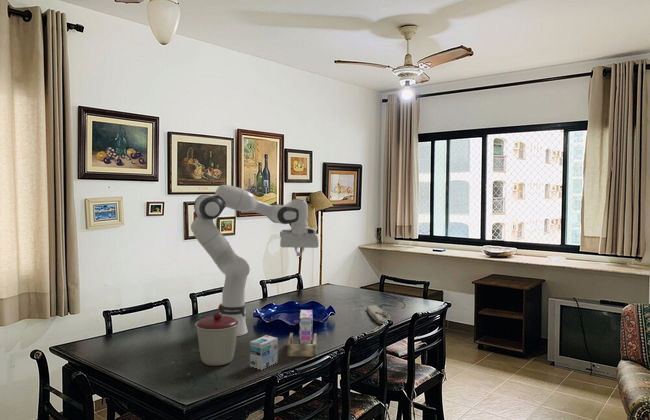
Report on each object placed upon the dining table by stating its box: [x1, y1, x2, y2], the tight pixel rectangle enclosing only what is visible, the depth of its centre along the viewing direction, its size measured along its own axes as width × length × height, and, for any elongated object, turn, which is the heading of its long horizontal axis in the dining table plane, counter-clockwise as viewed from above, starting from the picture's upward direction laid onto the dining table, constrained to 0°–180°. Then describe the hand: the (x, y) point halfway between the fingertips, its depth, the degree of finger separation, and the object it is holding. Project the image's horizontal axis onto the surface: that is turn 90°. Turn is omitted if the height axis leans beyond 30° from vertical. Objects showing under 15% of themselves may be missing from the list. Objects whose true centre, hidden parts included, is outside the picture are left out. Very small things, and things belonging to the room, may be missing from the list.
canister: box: [194, 311, 239, 367], centre depth 200 cm, size 18×18×21 cm
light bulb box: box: [249, 334, 279, 371], centre depth 197 cm, size 11×7×11 cm, turn 148°
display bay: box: [286, 332, 318, 358], centre depth 216 cm, size 12×17×5 cm
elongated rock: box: [366, 304, 393, 325], centre depth 271 cm, size 35×5×10 cm
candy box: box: [298, 309, 314, 344], centre depth 217 cm, size 14×6×16 cm, turn 0°
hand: (299, 255), depth 251 cm, fingers closed
